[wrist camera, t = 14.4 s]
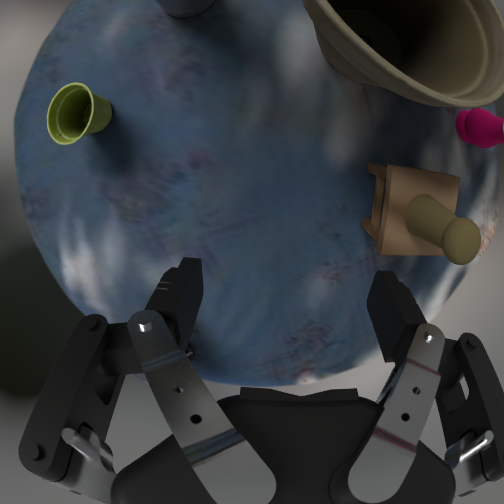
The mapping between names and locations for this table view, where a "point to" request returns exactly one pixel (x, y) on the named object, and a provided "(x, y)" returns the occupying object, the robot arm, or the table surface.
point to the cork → (443, 229)
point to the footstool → (405, 206)
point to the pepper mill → (480, 128)
